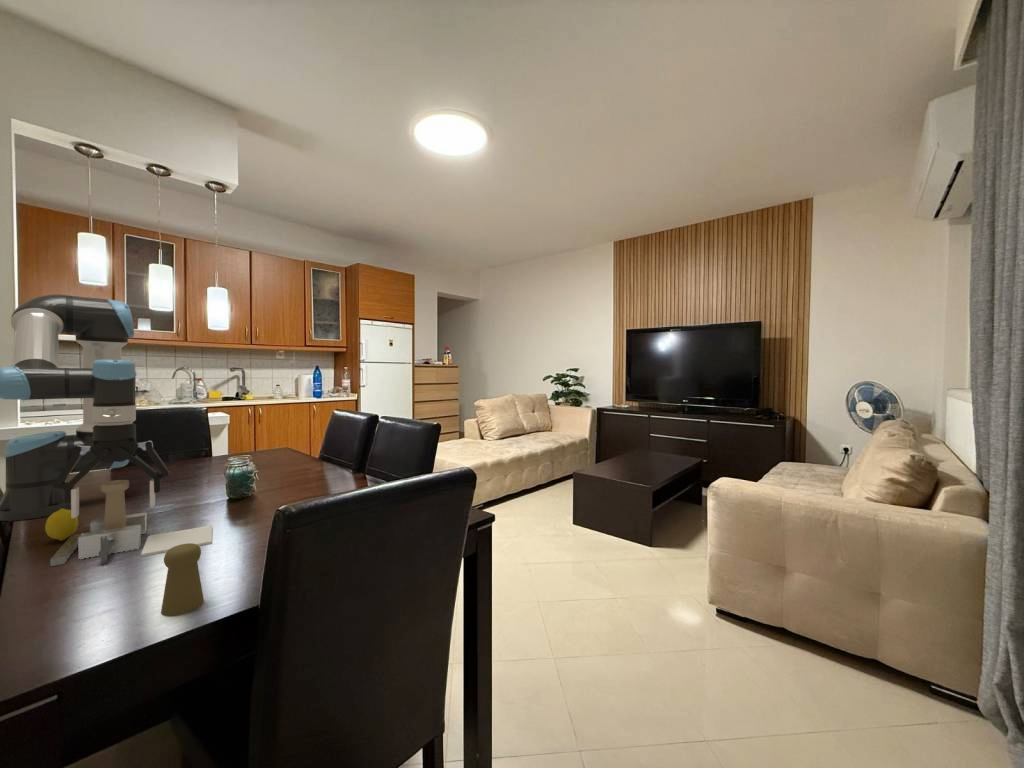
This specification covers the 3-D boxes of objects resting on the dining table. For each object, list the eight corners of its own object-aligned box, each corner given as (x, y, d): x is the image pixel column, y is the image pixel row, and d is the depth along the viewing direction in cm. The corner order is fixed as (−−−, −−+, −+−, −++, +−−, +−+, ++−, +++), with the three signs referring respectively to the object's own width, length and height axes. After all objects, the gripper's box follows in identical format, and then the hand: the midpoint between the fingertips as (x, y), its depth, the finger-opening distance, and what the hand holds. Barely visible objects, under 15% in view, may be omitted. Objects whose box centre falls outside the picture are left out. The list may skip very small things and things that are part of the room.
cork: (177, 598, 77) (177, 539, 76) (211, 597, 77) (211, 539, 77) (151, 617, 70) (151, 553, 70) (189, 615, 71) (188, 553, 71)
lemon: (82, 538, 103) (82, 507, 103) (50, 546, 98) (50, 513, 98) (72, 534, 105) (72, 503, 105) (41, 542, 100) (40, 510, 100)
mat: (148, 538, 104) (148, 535, 104) (212, 527, 111) (212, 525, 111) (140, 556, 93) (140, 554, 93) (211, 543, 101) (211, 541, 101)
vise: (71, 545, 101) (71, 517, 101) (147, 533, 109) (147, 507, 109) (42, 581, 84) (41, 547, 84) (134, 563, 92) (134, 532, 92)
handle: (98, 551, 96) (98, 487, 95) (104, 542, 101) (103, 481, 101) (126, 546, 99) (126, 484, 98) (130, 537, 104) (130, 478, 103)
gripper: (32, 428, 89) (32, 525, 89) (179, 421, 103) (180, 505, 104) (43, 425, 95) (44, 516, 95) (181, 419, 110) (182, 498, 110)
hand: (115, 510), depth 99 cm, fingers open, 13 cm apart
